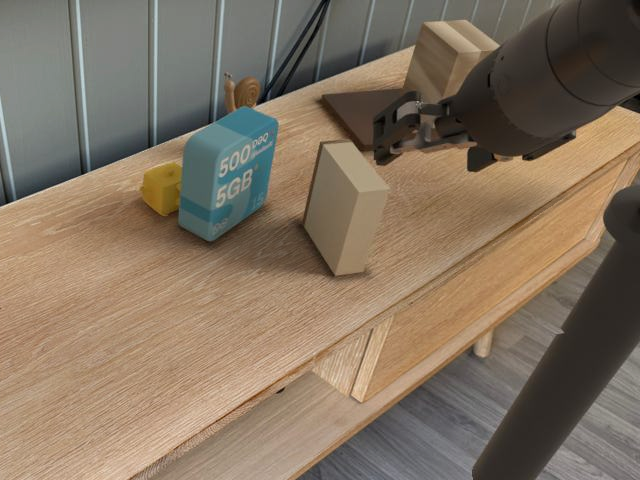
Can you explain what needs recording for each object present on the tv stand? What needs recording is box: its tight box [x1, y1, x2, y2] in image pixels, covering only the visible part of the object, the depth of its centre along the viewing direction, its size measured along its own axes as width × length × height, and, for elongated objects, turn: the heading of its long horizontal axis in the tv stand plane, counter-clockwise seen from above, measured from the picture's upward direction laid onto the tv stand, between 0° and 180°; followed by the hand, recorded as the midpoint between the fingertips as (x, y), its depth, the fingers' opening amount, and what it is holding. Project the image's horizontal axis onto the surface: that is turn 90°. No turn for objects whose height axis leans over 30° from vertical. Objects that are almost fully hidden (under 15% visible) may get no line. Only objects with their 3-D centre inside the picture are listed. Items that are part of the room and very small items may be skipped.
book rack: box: [320, 19, 501, 152], centre depth 101 cm, size 20×15×12 cm
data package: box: [177, 106, 280, 243], centre depth 82 cm, size 12×4×12 cm, turn 139°
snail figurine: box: [223, 71, 261, 115], centre depth 93 cm, size 5×6×12 cm
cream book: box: [301, 138, 391, 277], centre depth 79 cm, size 4×10×11 cm, turn 14°
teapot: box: [138, 161, 182, 217], centre depth 85 cm, size 8×6×5 cm
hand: (425, 158), depth 63 cm, fingers open, 8 cm apart
